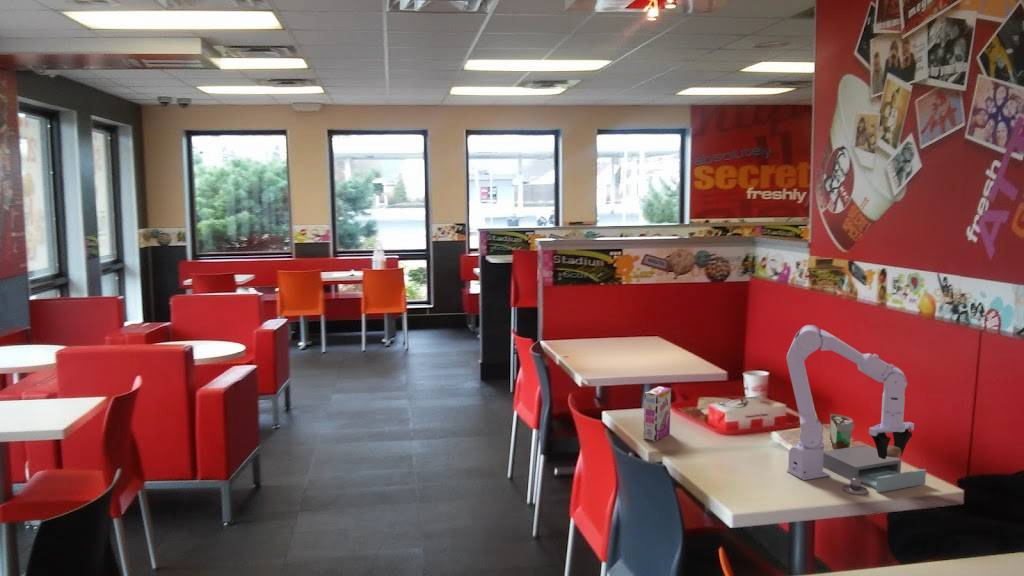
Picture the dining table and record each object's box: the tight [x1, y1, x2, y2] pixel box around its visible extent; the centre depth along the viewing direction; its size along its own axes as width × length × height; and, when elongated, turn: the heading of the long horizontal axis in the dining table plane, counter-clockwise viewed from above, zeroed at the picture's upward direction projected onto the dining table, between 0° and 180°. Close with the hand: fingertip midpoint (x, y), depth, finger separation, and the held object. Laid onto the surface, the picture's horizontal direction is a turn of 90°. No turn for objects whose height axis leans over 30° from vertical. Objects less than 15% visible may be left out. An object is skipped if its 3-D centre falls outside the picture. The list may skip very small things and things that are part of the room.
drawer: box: [858, 466, 927, 493], centre depth 231 cm, size 13×17×4 cm
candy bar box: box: [642, 386, 672, 442], centre depth 271 cm, size 11×5×16 cm, turn 144°
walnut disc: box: [887, 444, 902, 458], centre depth 229 cm, size 5×5×2 cm
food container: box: [829, 413, 855, 450], centre depth 257 cm, size 12×6×10 cm, turn 168°
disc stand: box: [842, 477, 869, 495], centre depth 224 cm, size 6×6×4 cm
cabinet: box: [823, 444, 902, 481], centre depth 240 cm, size 14×17×4 cm
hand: (890, 456), depth 229 cm, fingers closed on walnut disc, 5 cm apart
